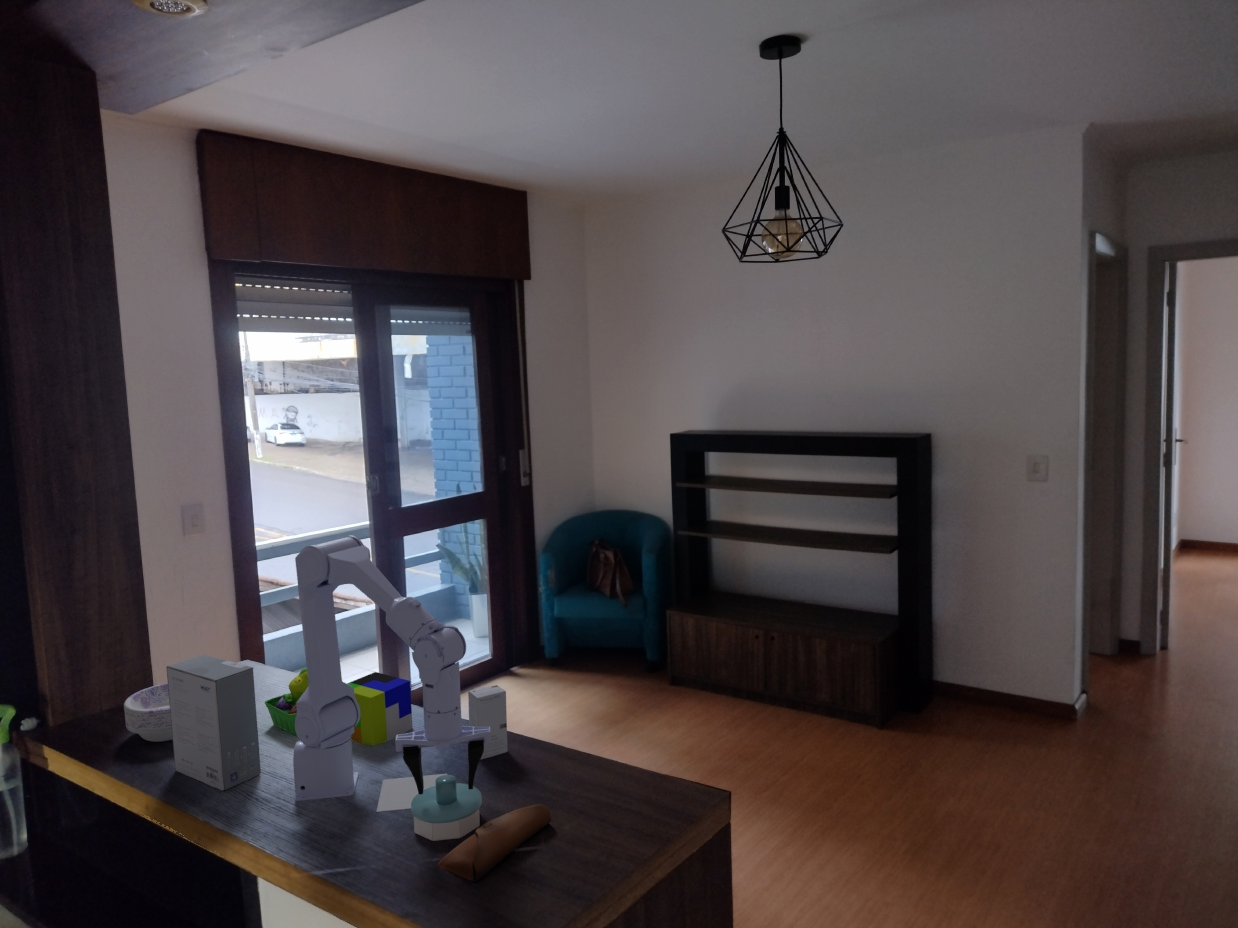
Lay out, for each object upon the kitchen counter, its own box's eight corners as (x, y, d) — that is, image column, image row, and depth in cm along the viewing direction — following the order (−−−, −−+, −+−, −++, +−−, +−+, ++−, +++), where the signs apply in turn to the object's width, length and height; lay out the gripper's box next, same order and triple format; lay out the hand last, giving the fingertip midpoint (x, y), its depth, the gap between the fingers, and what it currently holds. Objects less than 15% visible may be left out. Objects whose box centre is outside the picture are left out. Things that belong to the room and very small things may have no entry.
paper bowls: (161, 754, 163) (158, 714, 162) (109, 740, 170) (106, 702, 169) (228, 723, 177) (226, 686, 176) (178, 711, 183) (175, 676, 182)
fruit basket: (264, 724, 176) (260, 671, 175) (304, 711, 183) (301, 659, 181) (292, 740, 168) (288, 684, 167) (333, 725, 175) (330, 671, 174)
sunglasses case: (509, 809, 140) (525, 781, 138) (540, 840, 138) (556, 812, 135) (432, 866, 125) (448, 836, 122) (465, 902, 122) (482, 872, 120)
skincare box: (478, 761, 158) (476, 698, 156) (469, 752, 161) (466, 690, 160) (509, 752, 161) (507, 690, 160) (498, 744, 165) (496, 683, 163)
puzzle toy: (412, 728, 173) (410, 680, 172) (373, 747, 164) (371, 697, 163) (377, 718, 178) (375, 671, 177) (338, 736, 170) (335, 687, 169)
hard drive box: (263, 774, 154) (255, 667, 152) (223, 792, 148) (214, 681, 146) (212, 754, 163) (204, 652, 160) (172, 770, 156) (163, 665, 154)
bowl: (413, 844, 131) (412, 826, 130) (417, 811, 141) (416, 793, 140) (479, 837, 132) (479, 818, 132) (479, 804, 142) (478, 787, 142)
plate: (376, 813, 140) (376, 811, 140) (383, 781, 151) (383, 779, 151) (445, 806, 142) (445, 804, 142) (447, 775, 153) (447, 773, 153)
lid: (411, 827, 130) (410, 801, 129) (410, 792, 141) (409, 768, 140) (485, 816, 133) (484, 790, 132) (478, 783, 143) (477, 759, 143)
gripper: (392, 720, 129) (396, 806, 131) (489, 712, 131) (493, 796, 133) (396, 702, 136) (400, 783, 138) (488, 694, 138) (492, 774, 140)
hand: (446, 788), depth 136 cm, fingers open, 7 cm apart
